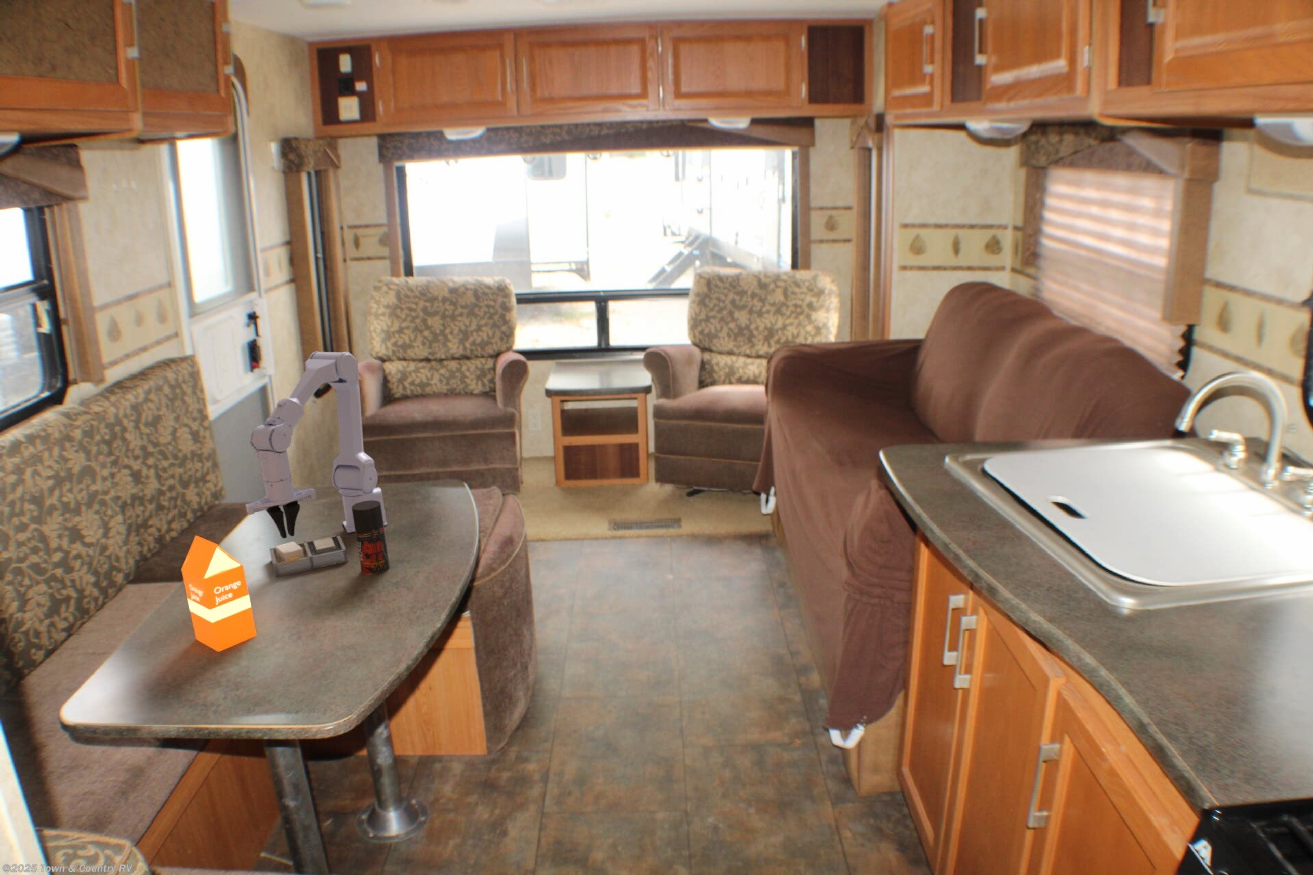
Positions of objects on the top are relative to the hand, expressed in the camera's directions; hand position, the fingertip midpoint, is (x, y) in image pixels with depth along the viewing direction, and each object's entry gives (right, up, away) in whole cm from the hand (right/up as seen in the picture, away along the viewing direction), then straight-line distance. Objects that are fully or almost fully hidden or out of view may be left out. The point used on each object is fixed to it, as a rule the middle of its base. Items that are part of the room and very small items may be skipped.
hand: (287, 535), depth 211 cm
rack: (+4, -6, +3) cm, 8 cm away
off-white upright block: (0, -6, +2) cm, 6 cm away
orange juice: (0, -16, -31) cm, 35 cm away
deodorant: (+21, -7, -3) cm, 22 cm away
